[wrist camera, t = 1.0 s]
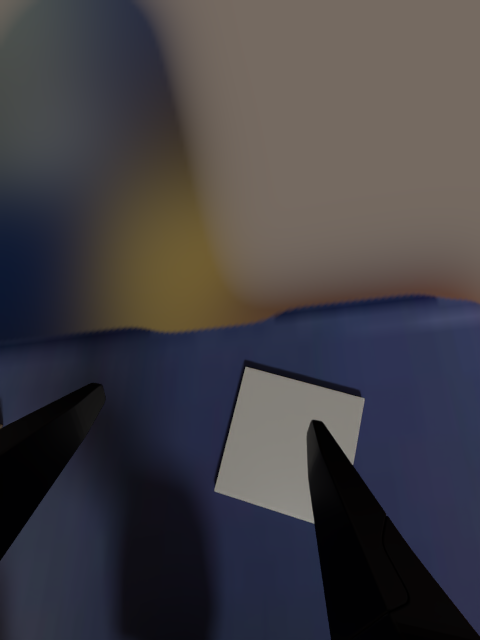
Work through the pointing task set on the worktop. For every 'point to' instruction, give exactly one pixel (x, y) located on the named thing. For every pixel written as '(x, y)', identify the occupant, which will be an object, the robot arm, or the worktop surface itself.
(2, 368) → the worktop surface
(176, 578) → the worktop surface
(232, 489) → the place mat
